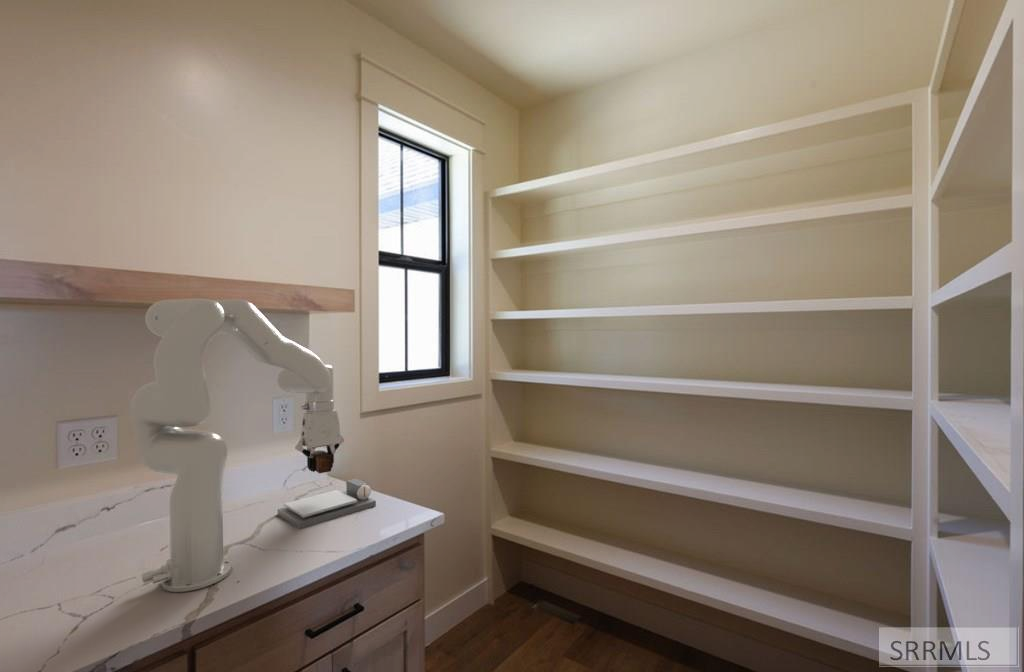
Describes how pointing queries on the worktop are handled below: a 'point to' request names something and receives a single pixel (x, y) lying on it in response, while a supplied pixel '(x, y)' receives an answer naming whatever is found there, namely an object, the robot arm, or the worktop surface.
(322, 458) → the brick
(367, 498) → the scale
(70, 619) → the worktop surface
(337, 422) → the robot arm
